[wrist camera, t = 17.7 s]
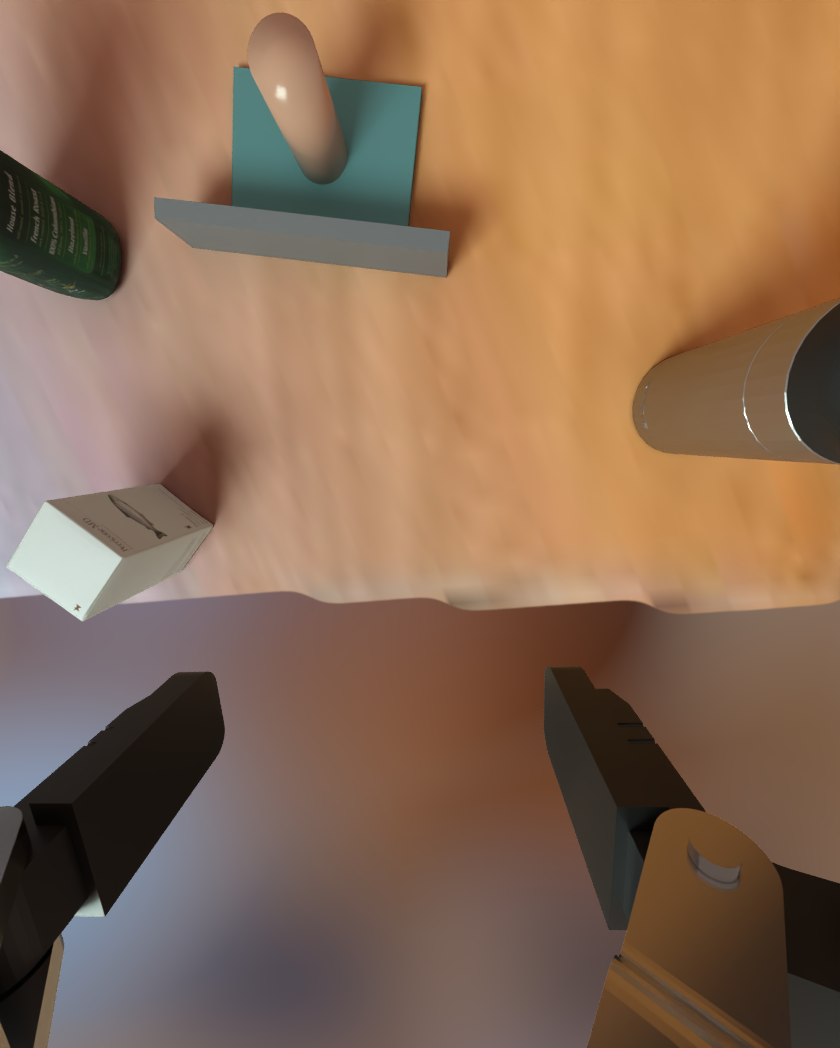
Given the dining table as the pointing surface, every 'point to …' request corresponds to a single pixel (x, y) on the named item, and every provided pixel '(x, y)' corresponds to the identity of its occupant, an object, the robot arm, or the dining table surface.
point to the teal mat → (372, 143)
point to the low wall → (306, 237)
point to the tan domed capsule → (298, 95)
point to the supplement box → (107, 546)
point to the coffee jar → (54, 237)
